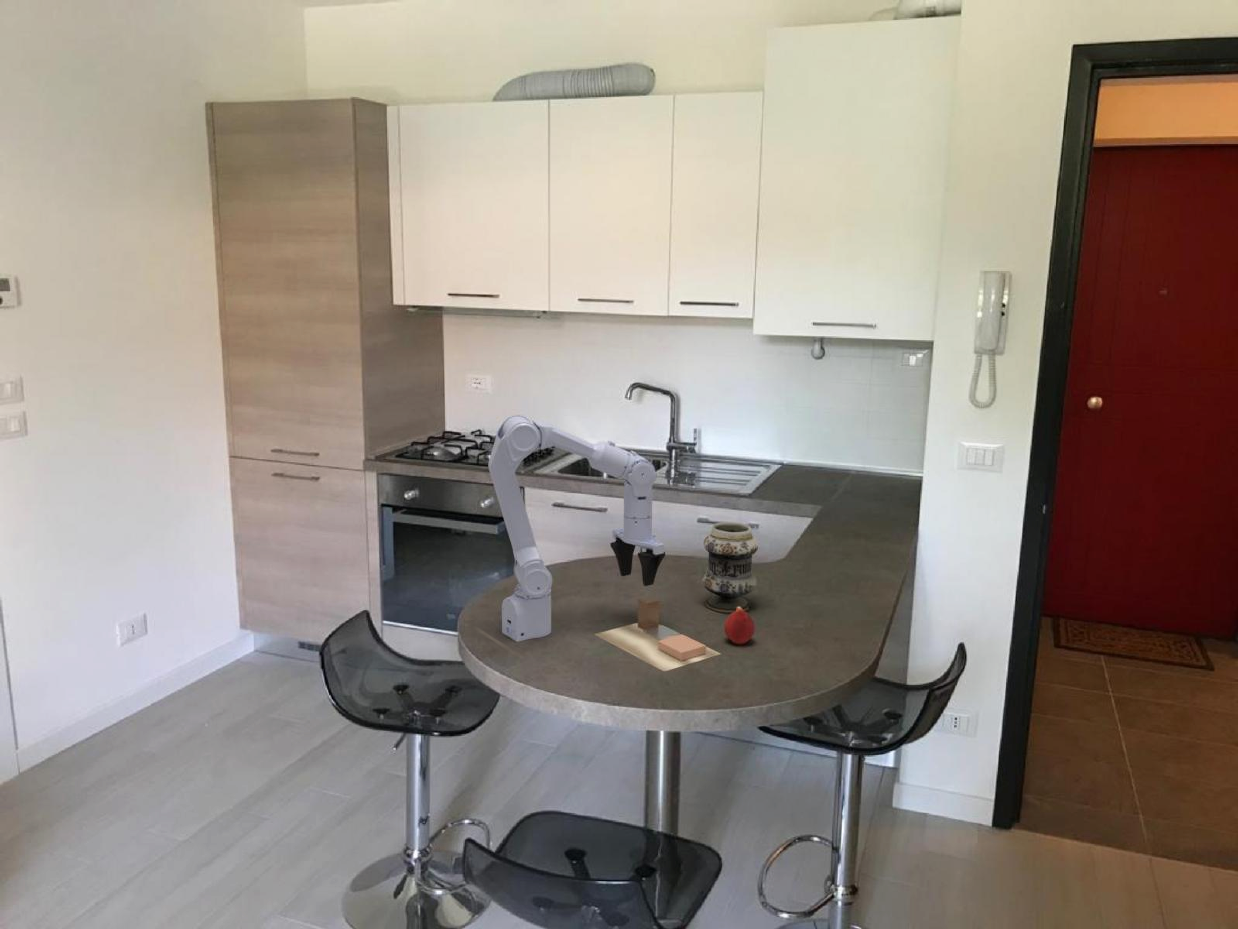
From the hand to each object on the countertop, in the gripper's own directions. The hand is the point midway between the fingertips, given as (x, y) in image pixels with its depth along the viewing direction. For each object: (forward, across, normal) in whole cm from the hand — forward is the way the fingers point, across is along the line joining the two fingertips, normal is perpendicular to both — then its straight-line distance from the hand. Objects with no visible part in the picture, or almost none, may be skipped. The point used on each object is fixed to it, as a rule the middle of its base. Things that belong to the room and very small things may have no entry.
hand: (636, 580), depth 192 cm
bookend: (+9, -7, 0) cm, 11 cm away
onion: (+10, -20, -10) cm, 25 cm away
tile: (+8, -14, +2) cm, 16 cm away
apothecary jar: (+10, -2, -24) cm, 26 cm away
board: (+10, -12, +4) cm, 16 cm away
